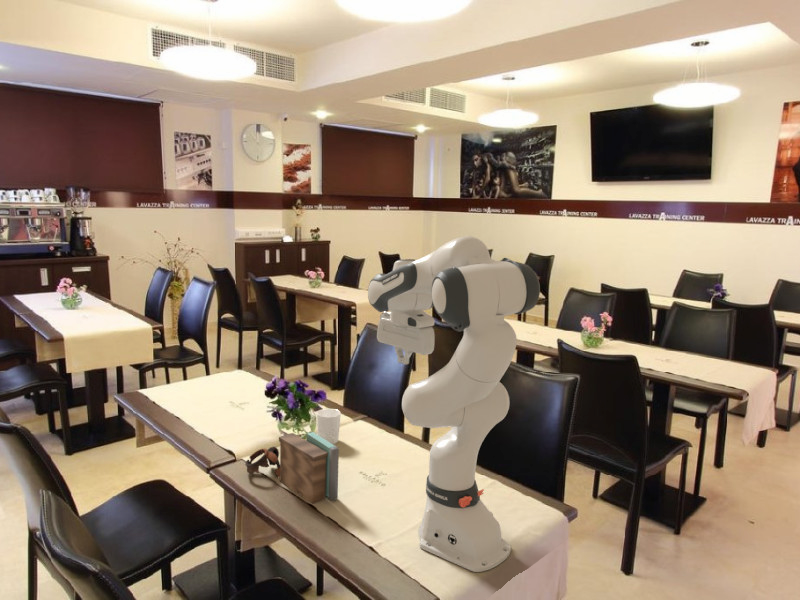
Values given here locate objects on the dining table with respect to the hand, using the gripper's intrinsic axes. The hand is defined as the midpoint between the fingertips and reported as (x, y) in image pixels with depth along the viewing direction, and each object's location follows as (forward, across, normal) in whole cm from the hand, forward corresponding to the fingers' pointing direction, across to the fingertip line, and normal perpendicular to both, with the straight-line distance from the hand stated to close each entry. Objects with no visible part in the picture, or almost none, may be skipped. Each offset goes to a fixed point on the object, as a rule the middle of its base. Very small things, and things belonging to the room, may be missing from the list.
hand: (403, 363), depth 159 cm
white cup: (+34, -32, -2) cm, 47 cm away
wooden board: (+34, -10, -27) cm, 45 cm away
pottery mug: (+34, -26, -29) cm, 52 cm away
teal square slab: (+34, -7, -23) cm, 41 cm away
